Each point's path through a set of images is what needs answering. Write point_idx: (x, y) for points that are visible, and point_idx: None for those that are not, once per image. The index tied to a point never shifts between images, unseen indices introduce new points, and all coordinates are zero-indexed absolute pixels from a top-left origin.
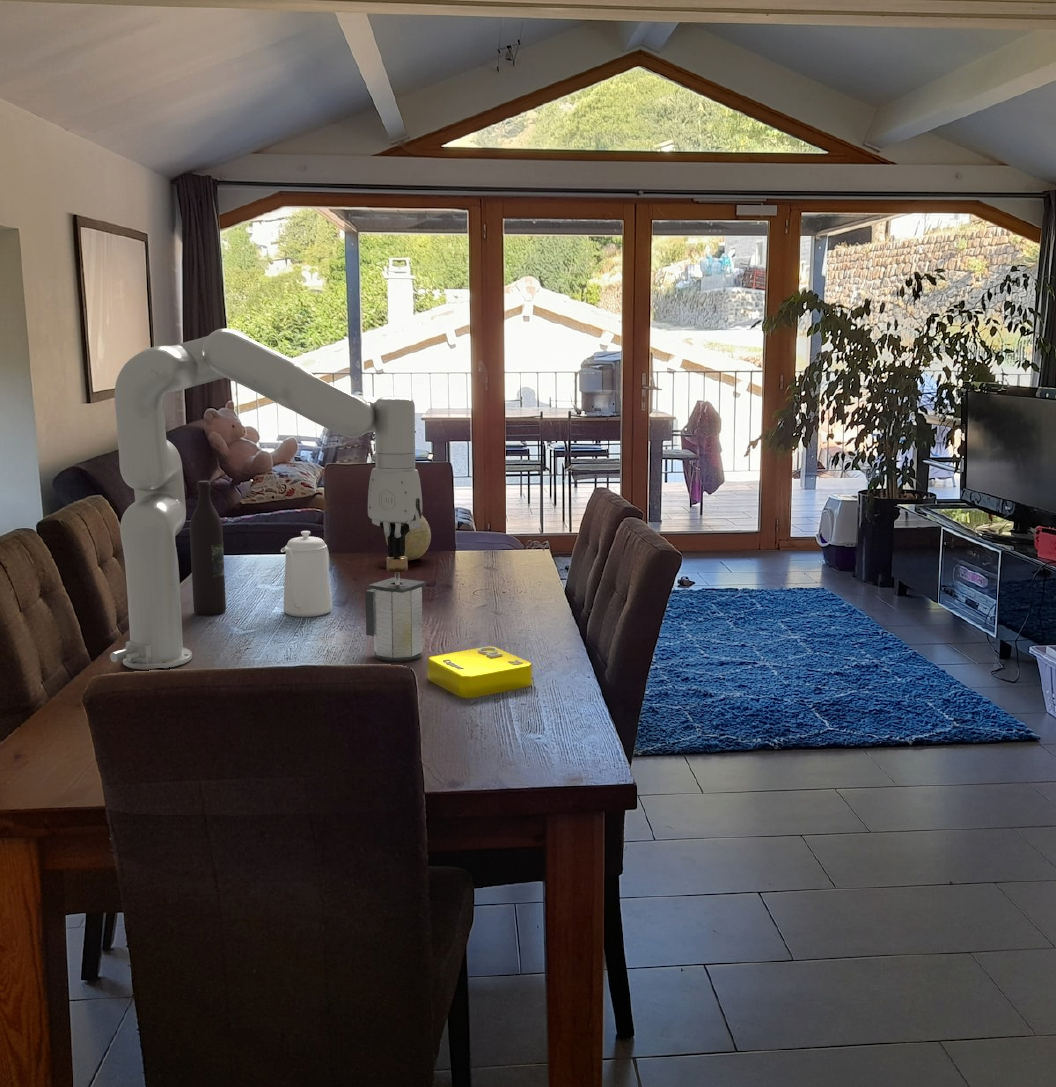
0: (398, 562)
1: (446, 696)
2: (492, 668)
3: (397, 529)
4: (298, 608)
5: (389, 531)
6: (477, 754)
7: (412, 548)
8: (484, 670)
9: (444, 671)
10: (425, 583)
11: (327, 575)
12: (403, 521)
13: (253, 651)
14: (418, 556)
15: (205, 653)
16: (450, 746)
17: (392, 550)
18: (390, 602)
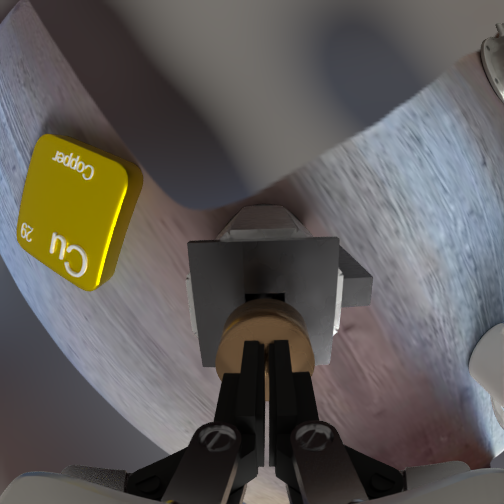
0: (230, 330)
1: (79, 123)
2: (31, 188)
3: (206, 469)
4: (499, 330)
5: (294, 453)
6: (12, 45)
7: None
8: (33, 173)
9: (80, 145)
10: (203, 362)
11: (495, 392)
12: (51, 477)
13: (472, 152)
14: None
15: (500, 120)
16: (30, 35)
17: (262, 362)
18: (237, 224)
